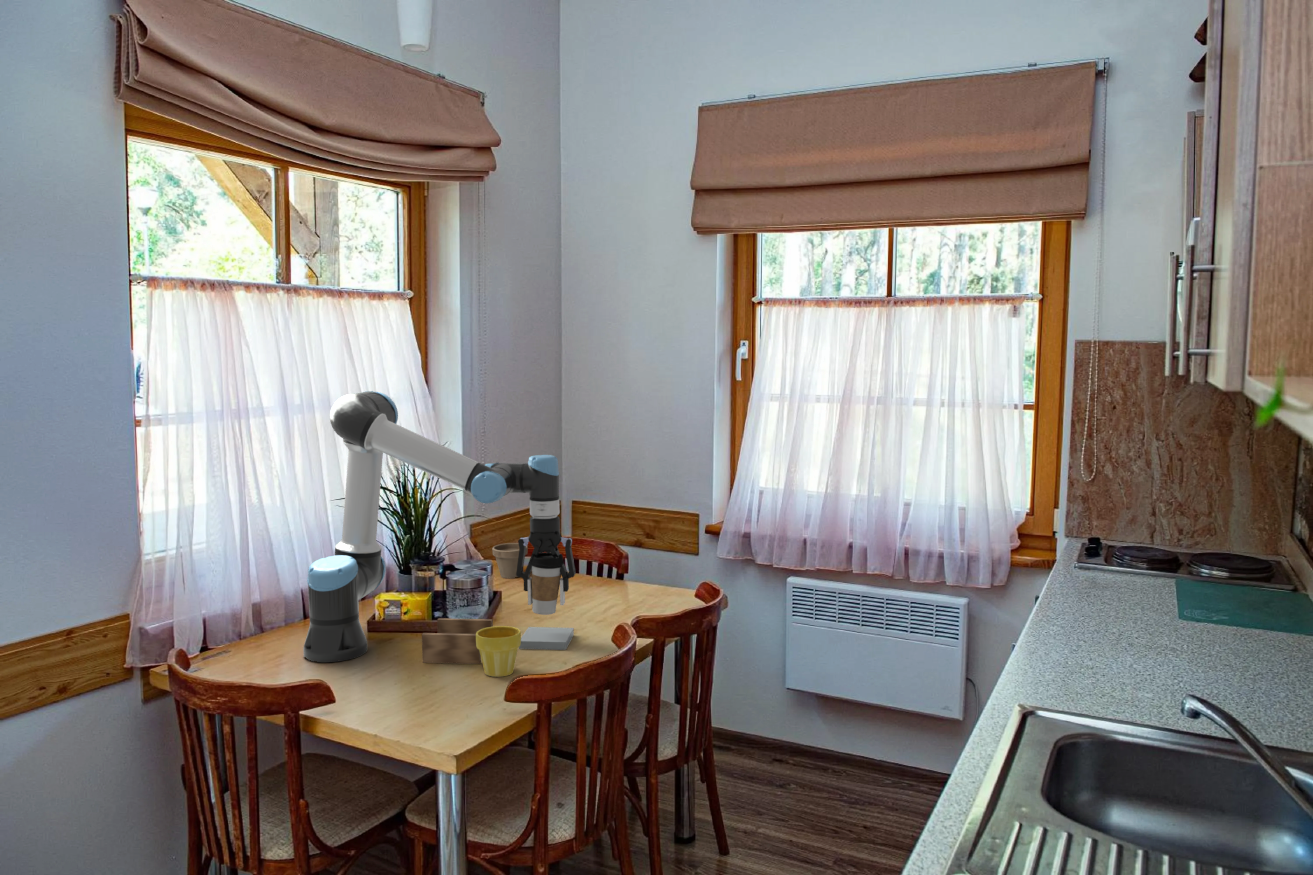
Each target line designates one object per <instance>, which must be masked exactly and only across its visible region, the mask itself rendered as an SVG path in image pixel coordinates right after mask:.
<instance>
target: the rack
mask: <svg viewBox="0 0 1313 875" xmlns="http://www.w3.org/2000/svg"><path fill="white" fill-rule="evenodd" d="M436 623H437V633H435V632H422V634H421V649H422V650H421V651H422V653H421V654H422V655H421V656H422V658H421V660H422V663H424V664H425V663H426V664H429V663H430V664H431V663H432V664H461V665H462V664H463V665H464V664H469V665H470V664H471V665H473V664H474V665H478V664H479V665H480V664H482V659H481V655H480V651H479V649H477V647H476V632H477V631H479V630H481V629H483V628H487V627H493V626H494V624H493V623H494V622H493V619H492V618H490V619H489V618H446V617H445V618H444V617H441V618H440V617H438V618H437V620H436Z"/></svg>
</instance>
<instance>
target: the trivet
mask: <svg viewBox="0 0 1313 875" xmlns="http://www.w3.org/2000/svg"><path fill="white" fill-rule="evenodd" d="M574 632H575V631H574V627H553V626H552V627H549V626H548V627H547V626H546V627H545V626H528V627H527V629H526V630H525V631H524V633H523V634H522V635H521V645H520V646H519V647H518V650H550V651H551V650H552V651H553V650H555V651H556V650H558V651H560V650H561V651H566V650H567V648H568V646H569V644H571V641H572V639H573V637H574V634H575V633H574Z"/></svg>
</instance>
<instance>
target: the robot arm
mask: <svg viewBox="0 0 1313 875" xmlns="http://www.w3.org/2000/svg"><path fill="white" fill-rule="evenodd" d="M398 419H399V411H398V408H397V406H396V403H395V402H394V400H393V399H392V398H391V397H389V396H388V395H387V394H385V393H383V392H379V391H373V390H371V391H370V390H365V391H361V392H357V393H349V394H345V395H342V396H341V397H339V398H338V399H337V400H336V401H335V402H334V404H333V405H332V407H331V408H330V413H329V420H330V422H329V423H330V424H331V427H332V429H333V432H335V434H336V435H337V436H339V437H340V438H342V443H343V445H344V446H345V447H346V448H347V450H348V452H347V453H348V454H347V465H346V466H347V467H346V480H345V481H346V482H345V494H344V504H343V505H344V508H343V522H342V535H341V536H342V537H341V540H340V541H339V542H337V543H336V544H335V546H334V555H330V556H329V555H328V556H327V557H321V558H319V559H317V560H314V561H313V562H312V563H311V564H310V565H309V567H308V570H307V578H306V580H307V581H306V582H307V588H308V589H307V590H308V593H307V594H308V610H309V611H308V612H309V627H308V630H307V633H306V637H305V640H304V643H303V644H304V645H303V647H302V648H303V649H302V650H303V658H304V657H306V658H307V659H309V660H308V661H310V660H311V662H314V661H317V662H316V663H337V662H343V661H349V660H352V659H355V658H358V657H360V656H363V655H364V654H366V653H367V652H368V640H367V637H366V634H365V631H364V630H363V627H362V624H361V622H360V612H359V611H360V609H359V608H360V605H359V600H361V599H362V598H364V597H366V596H367V595H369V594H371V593H373V592H374V591H375V590H377V588H378V587H379V586H380V585H381V584H382V583H383V581H384V578H385V576H386V570H387V566H386V562H385V560H384V558H383V556H382V546H381V545H380V543H379V542H378V541H377V535H378V534H377V531H378V521H379V508H380V496H381V495H380V494H381V483H382V481H381V480H382V471H383V470H382V469H383V456H384V454H385V455H387V456H390V457H392V458H394V459H396V460H399V461H400V462H402V463H406V464H407V465H409V466H412V467H414V468H416V469H418V470H420V471H422V472H425V473H427V474H429V475H431V476H433V477H435V478H436V479H437V478H438V479H440V480H442V481H443V482H447V483H448V484H451V485H453V486H454V487H457V488H459V489H461V490H464V491H465V492H468V493H470V494H472V496H473V498H474V499H475V500H476V501H478V502H479V503H482V504H485V505H486V504H493V503H495V502H498V501H500V500H501V499H503V497H505V496H506V495H508V494H520V493H521V494H526V493H527V494H529V515H530V518H529V529H530V530H529V531H530V533H529V535H528V536H527V537H524V536H523V537H520V538H519V539H518V540H517V543H519V548H520V549H519V556H518V564H517V571H516V576H517V577H518V578H521V579H522V580H523V591H524V592H527V605H528V606H531V605H532V581H531V572H532V565H531V559H532V556H535V557H537V556H538V553H551V554H552V556H553V557H554V558H555V557H559V556H560V554H561V553H560V549H559V547H558V546H559V545H560V543H562V546H563V547H564V550H565V558H566V563H567V567H568V570H567V567H566V566H565V563H564V562H563V565H562V567H560V573H561V579H560V586H559V597H560V598H559V602H560V604H559V606H564V605H565V603H566V592H568V591H569V585H570V584H569V582H570V579H572V578H574V577H575V576H576V566H575V562H574V560H575V559H574V555H573V549H572V544H573V537H563V536H562V535H561V521H560V520H561V518H560V517H559V516H558V515H559V514H560V513H561V511H560V471H559V470H560V469H559V460H558V457H557V456H555V455H553V454H536V455H531V456H529V457H528V461H527V462H526V463H506V462H505V463H503V462H495V463H486V464H482V463H481V462H480V461H477V460H475V459H472V458H471V457H468V456H467V455H464V454H462V453H460V452H457V451H455V450H453V449H451V448H449V447H447V446H445V445H442V444H440V443H438V442H436V441H433V440H432V439H429V438H427V437H425V436H422V435H420V434H418V433H417V432H414V431H413V430H410V429H408V428H405V427H403V426H401V425H399V424H398ZM529 543H530V545H531V546H532V547H533V550H532V552H531V556H530V558H529V561H528V563H527V566H526V567H525V566H524V565H525V560H526V555H525V552H526V546H528V544H529ZM560 557H561V556H560ZM524 567H525V568H526V569H525V571H524ZM307 659H306V660H307Z"/></svg>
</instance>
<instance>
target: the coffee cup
mask: <svg viewBox="0 0 1313 875" xmlns="http://www.w3.org/2000/svg"><path fill="white" fill-rule="evenodd" d="M560 556H561V557H560ZM560 556H559V557H555V558H554V557H553V556H552V554H551V553H547V552H542V553H538V556H537V557H535V556H532V559H531V565H532V571H531V573H530V577H531V581H532V604H531V605H532V606H531V607H532V612H533V613H534V614H537V615H544V616H546V615H554V614H555V613H556V611H557V602H558V597H559V593H560V579H561V578H562V575H561V573H560V567H562V565H563V563H564V557H563V553H560Z"/></svg>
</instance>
